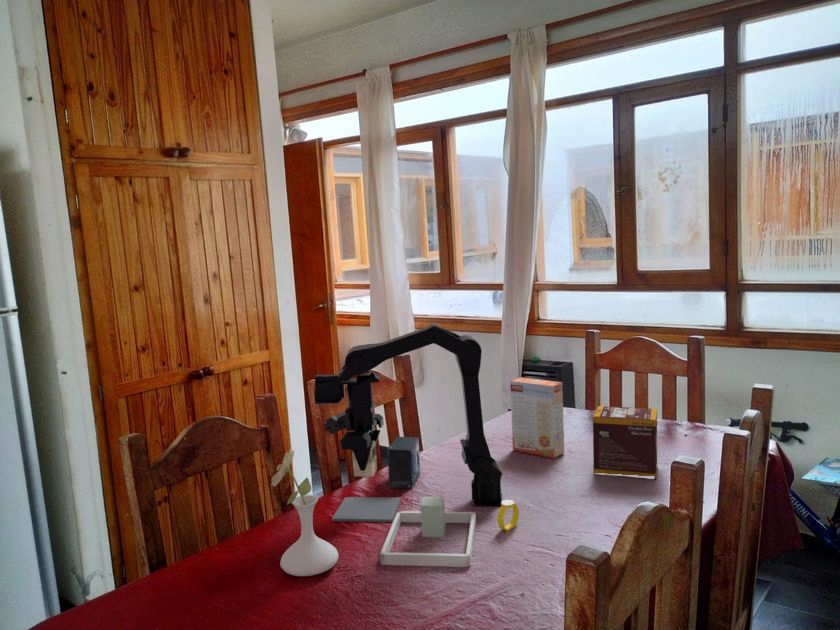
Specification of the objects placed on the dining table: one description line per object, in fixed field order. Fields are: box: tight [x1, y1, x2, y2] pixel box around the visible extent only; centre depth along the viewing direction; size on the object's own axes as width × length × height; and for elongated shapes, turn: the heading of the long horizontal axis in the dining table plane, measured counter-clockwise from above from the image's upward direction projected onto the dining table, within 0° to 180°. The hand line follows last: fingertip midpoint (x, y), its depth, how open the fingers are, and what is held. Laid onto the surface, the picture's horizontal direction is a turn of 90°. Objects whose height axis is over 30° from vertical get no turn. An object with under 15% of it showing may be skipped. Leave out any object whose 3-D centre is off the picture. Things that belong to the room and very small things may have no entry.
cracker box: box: [510, 376, 565, 459], centre depth 184 cm, size 14×6×21 cm, turn 47°
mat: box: [331, 496, 402, 523], centre depth 153 cm, size 14×12×1 cm
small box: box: [387, 436, 421, 490], centre depth 169 cm, size 11×6×10 cm, turn 168°
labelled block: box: [351, 441, 378, 478], centre depth 151 cm, size 4×5×7 cm
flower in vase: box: [270, 448, 339, 577], centre depth 125 cm, size 13×11×25 cm
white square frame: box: [379, 510, 477, 568], centre depth 135 cm, size 18×20×2 cm
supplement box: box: [592, 405, 658, 478], centre depth 168 cm, size 10×15×16 cm
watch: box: [497, 499, 520, 532], centre depth 139 cm, size 6×3×6 cm, turn 137°
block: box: [420, 496, 446, 538], centre depth 139 cm, size 4×4×7 cm
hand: (365, 466), depth 151 cm, fingers closed on labelled block, 4 cm apart
